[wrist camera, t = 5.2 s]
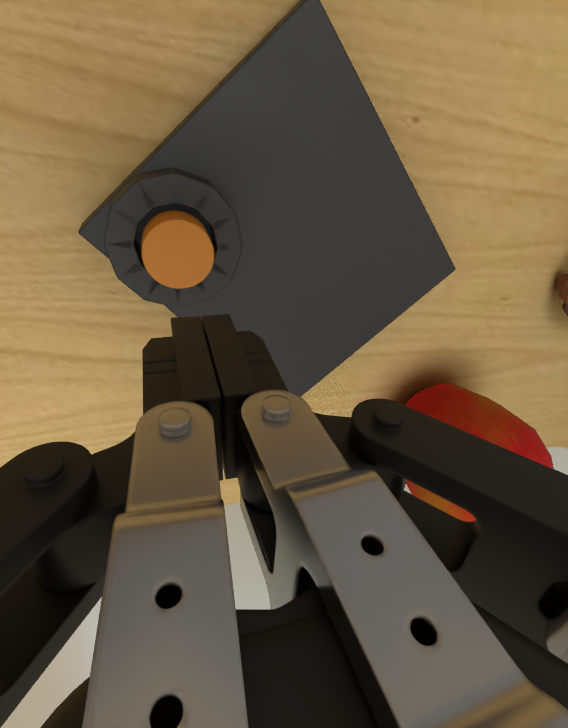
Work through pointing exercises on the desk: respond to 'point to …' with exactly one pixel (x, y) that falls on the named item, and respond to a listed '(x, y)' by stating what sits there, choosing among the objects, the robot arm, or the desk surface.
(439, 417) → the apple
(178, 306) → the scale
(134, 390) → the desk surface
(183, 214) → the button
